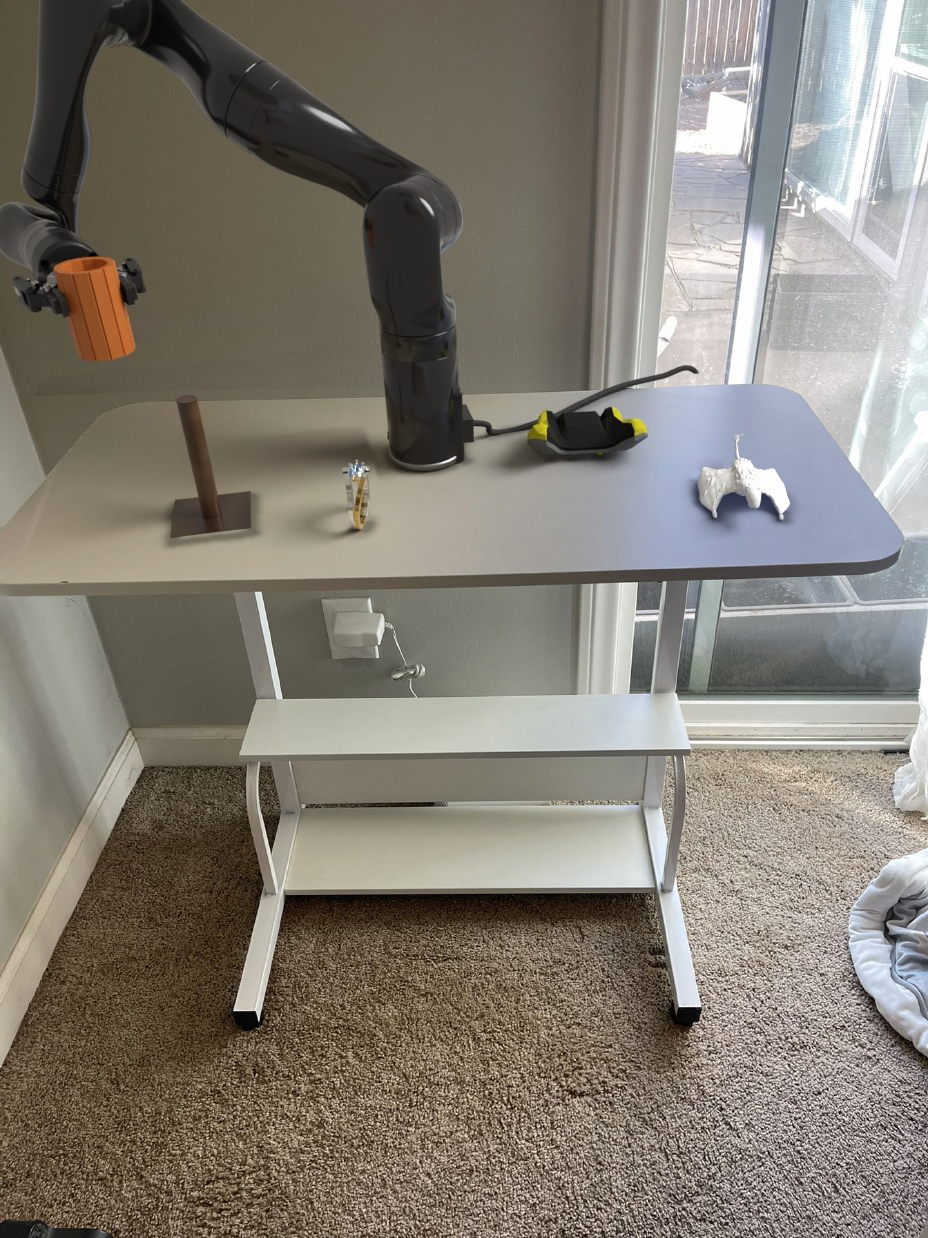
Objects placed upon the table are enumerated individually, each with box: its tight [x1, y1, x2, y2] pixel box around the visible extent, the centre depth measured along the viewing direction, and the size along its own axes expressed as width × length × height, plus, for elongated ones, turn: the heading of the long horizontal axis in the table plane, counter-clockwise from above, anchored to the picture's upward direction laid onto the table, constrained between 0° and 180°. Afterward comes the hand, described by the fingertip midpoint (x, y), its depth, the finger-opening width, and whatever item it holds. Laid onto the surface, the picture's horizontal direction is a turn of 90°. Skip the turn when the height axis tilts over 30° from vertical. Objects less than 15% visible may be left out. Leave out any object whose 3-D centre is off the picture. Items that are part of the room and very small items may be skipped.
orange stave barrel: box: [53, 256, 136, 362], centre depth 101 cm, size 6×6×10 cm
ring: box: [341, 459, 371, 531], centre depth 103 cm, size 7×3×8 cm, turn 171°
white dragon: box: [697, 433, 791, 521], centre depth 108 cm, size 18×10×4 cm, turn 174°
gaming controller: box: [526, 405, 649, 459], centre depth 118 cm, size 15×6×10 cm
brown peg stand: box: [170, 394, 252, 539], centre depth 104 cm, size 9×9×15 cm
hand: (97, 301), depth 99 cm, fingers closed on orange stave barrel, 6 cm apart
